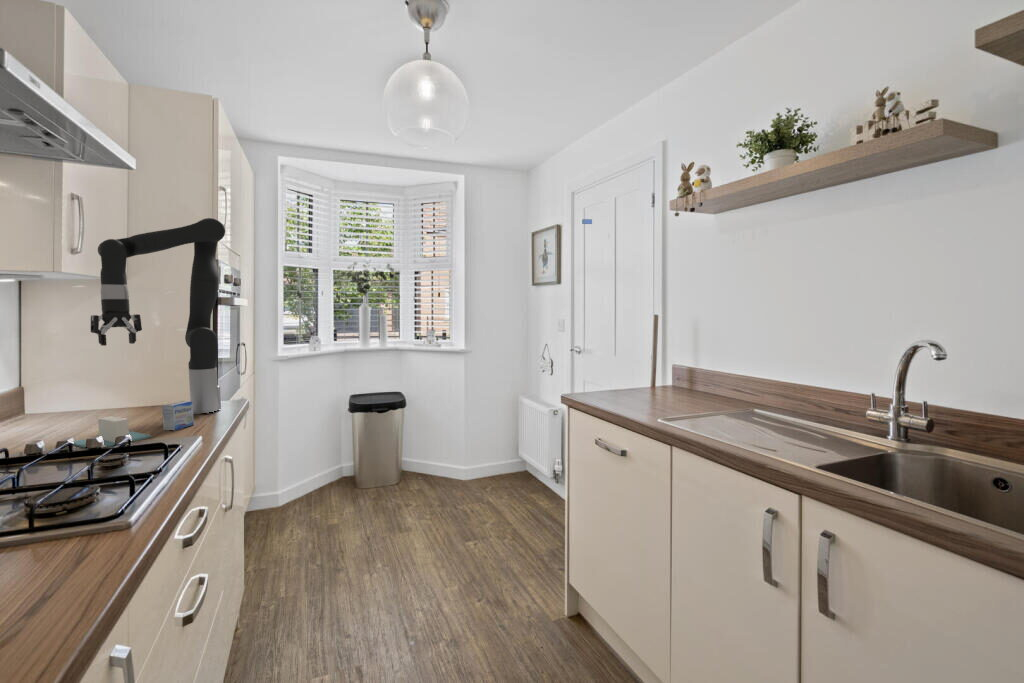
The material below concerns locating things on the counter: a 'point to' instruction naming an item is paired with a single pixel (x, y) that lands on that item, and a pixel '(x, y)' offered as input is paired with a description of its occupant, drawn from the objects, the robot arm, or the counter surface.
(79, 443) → the mat
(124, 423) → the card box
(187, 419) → the medicine box
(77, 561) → the counter surface
